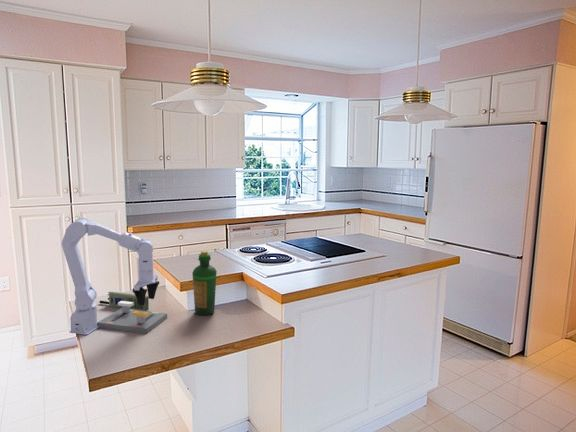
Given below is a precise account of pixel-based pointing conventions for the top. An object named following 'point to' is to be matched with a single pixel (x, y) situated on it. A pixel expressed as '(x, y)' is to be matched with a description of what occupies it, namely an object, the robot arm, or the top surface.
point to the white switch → (125, 306)
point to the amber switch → (140, 316)
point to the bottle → (204, 285)
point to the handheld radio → (117, 297)
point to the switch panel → (131, 321)
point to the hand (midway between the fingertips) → (146, 301)
